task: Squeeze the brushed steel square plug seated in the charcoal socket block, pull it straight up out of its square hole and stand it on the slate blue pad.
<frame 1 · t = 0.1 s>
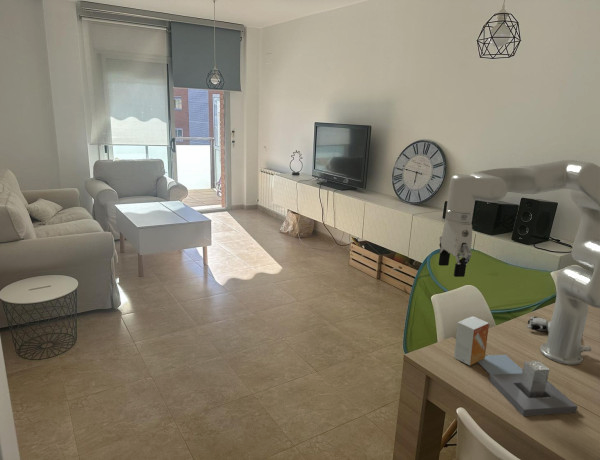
hand: (450, 270, 133), 31 cm above the table, tool pointing down, fingers open, 9 cm apart
socket block: (530, 395, 125), on the table
blue pad: (499, 366, 139), on the table
steel plug: (533, 380, 123), in the socket block
robot toy: (548, 332, 164), on the table
small box: (469, 358, 143), on the table, touching blue pad
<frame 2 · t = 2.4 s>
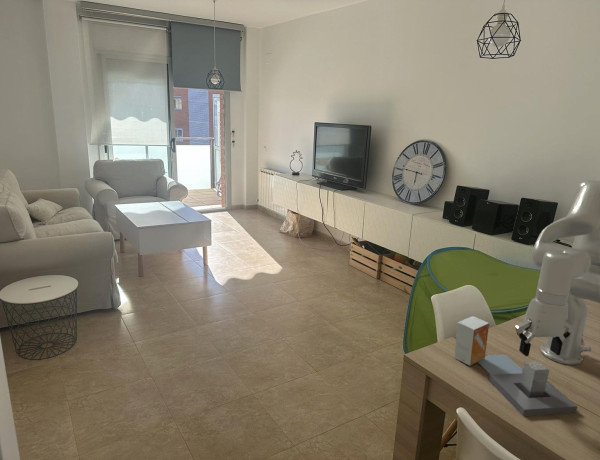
hand: (539, 353, 121), 14 cm above the table, tool pointing down, fingers open, 9 cm apart
nothing on the table moved.
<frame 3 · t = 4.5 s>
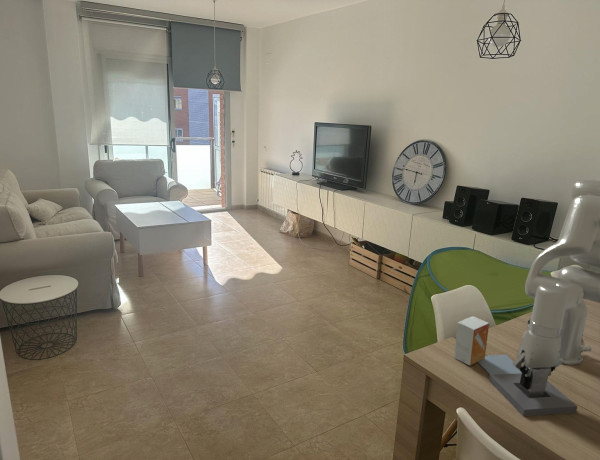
hand: (532, 385, 124), 3 cm above the table, tool pointing down, fingers closed on steel plug, 4 cm apart
steel plug: (533, 380, 123), in the socket block, touching gripper
everything else where it was.
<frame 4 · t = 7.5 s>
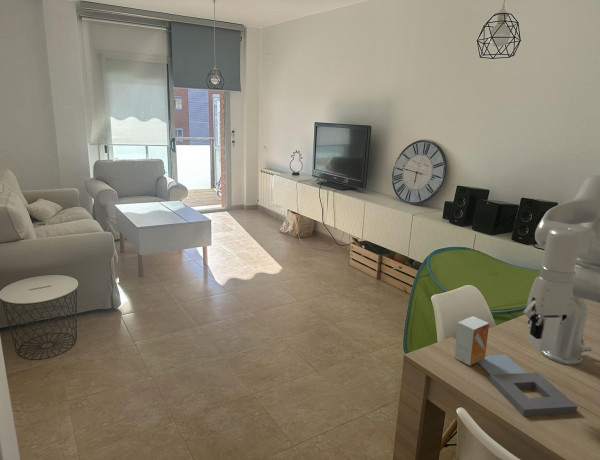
hand: (543, 335, 120), 19 cm above the table, tool pointing down, fingers closed on steel plug, 4 cm apart
steel plug: (544, 330, 119), point 21 cm above the table, touching gripper
everything else where it was.
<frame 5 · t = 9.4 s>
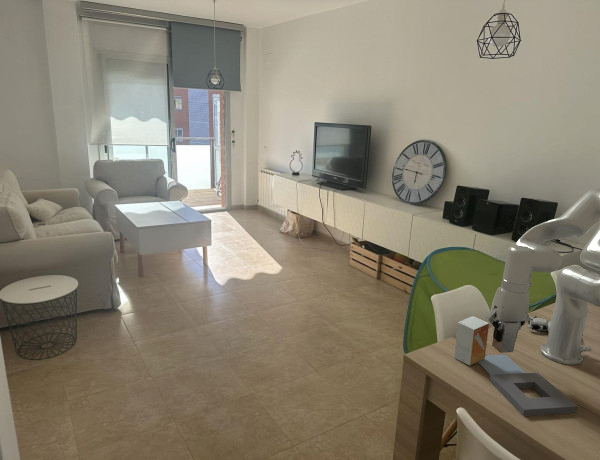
hand: (504, 339, 136), 10 cm above the table, tool pointing down, fingers closed on steel plug, 4 cm apart
steel plug: (505, 334, 136), point 12 cm above the table, touching gripper
everything else where it was.
when the fingers open (5 cm above the table, at t = 10.8 s): steel plug drops 1 cm, resting on blue pad.
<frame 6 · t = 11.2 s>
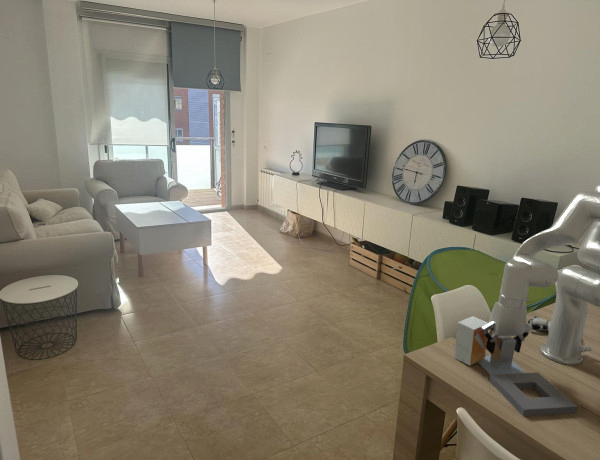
hand: (502, 350, 138), 6 cm above the table, tool pointing down, fingers open, 8 cm apart
steel plug: (502, 351, 138), on the blue pad
everything else where it was.
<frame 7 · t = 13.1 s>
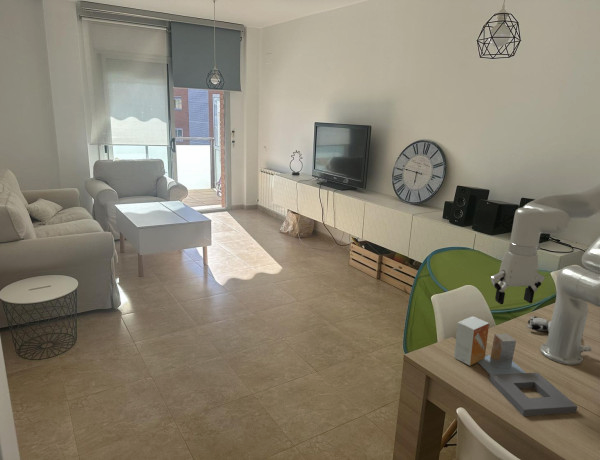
hand: (513, 302, 133), 23 cm above the table, tool pointing down, fingers open, 9 cm apart
nothing on the table moved.
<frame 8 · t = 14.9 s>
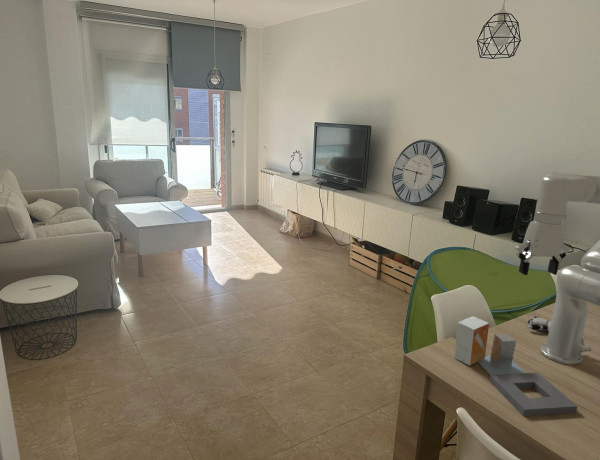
hand: (537, 273, 131), 32 cm above the table, tool pointing down, fingers open, 9 cm apart
nothing on the table moved.
at the end: steel plug inside the target area on the blue pad (0.0 cm from its centre), point 5.4 cm above the blue pad's base; steel plug tilted 0°; the gripper is holding nothing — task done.
